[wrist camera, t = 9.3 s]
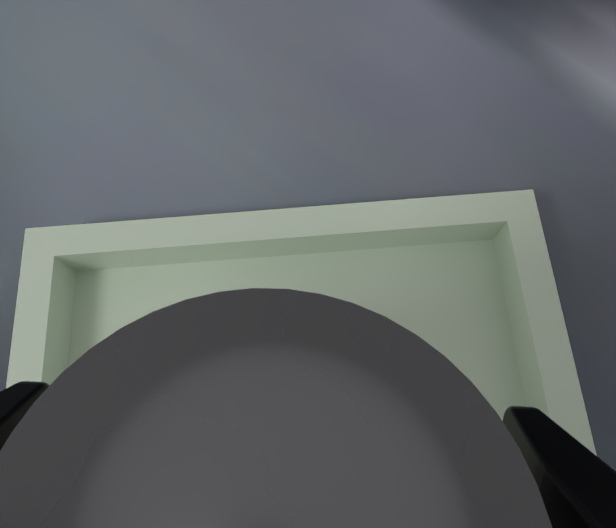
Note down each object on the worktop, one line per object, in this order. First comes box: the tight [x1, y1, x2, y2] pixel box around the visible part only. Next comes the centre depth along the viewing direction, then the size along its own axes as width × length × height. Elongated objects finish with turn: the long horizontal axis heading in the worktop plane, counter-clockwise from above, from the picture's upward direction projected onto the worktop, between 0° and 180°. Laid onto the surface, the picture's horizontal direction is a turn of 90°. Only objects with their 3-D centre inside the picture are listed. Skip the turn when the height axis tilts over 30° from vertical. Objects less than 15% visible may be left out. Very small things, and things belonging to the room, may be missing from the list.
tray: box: [6, 189, 597, 456], centre depth 15 cm, size 16×16×2 cm
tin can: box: [0, 288, 552, 528], centre depth 10 cm, size 5×5×11 cm
